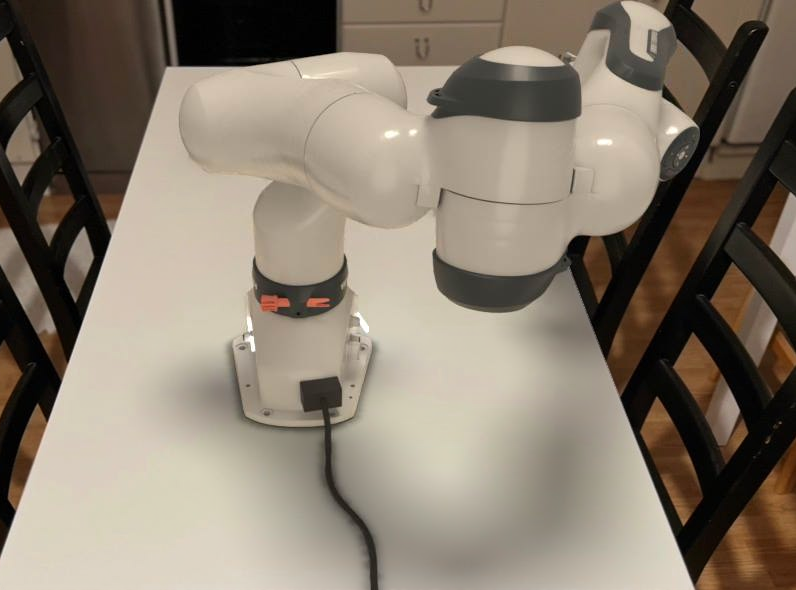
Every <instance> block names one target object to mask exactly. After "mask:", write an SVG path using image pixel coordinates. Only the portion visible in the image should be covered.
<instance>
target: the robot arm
mask: <svg viewBox="0 0 796 590" xmlns="http://www.w3.org/2000/svg"><path fill="white" fill-rule="evenodd" d="M678 48H679V45H678V37H677V33H676V31H675V26H674V25H673V23H672V22H671V21H670V20H669V19H668V18H667V17H666V15H664V14H663V13H662V12H661V11H659V10H658V9H656V8H655V7H653V6H651V5H648V4H646V3H643V2H640V1H634V0H617V1H614V2H612V3H610V4H607V5H605V6H603V7H602V8H600V9H598V10H597V11H595V14H594V16H593V19H592V21H591V23H590V26H589V28H588V31H587V35H586V37H585V39H584V41H583V43H582V45H581V47H580V49H579V51H578V53H577V55H575V54H572V52H569V51H567V52H563V53H560V54H558V56H555V55H554V54H552V53H551V52H547V51H546V50H543V49H540V48H536V47H532V46H526V45H511V46H509V45H508V46H504V47H499V48H496V49H494V50H490V51H488V52H485V53H479V54H475V55H473V56H472V57H471V58H469V59H468V60H466V61H464V62H463V64H461V65H460V66H458V68H455V70H453V72H452V73H451V74H450V75H449V77H448V78H447V79H446V81H445V82H444V84H443V85H442V87H437V88H434V89H432V90H430V91H429V93H428V95H427V97H426V103H428V105H431V106H434V107H435V109H434V110H433V111H432V112H431V113H430V114H418V113H414V112H411V111H409V110H408V91H407V87H406V84H405V81H404V78H403V75H401V72H400V70H399V69H398V68H397V67H396V65H395V64H394V63H393V62H392V61H391V60H390V59H389V58H388V57H387V56H385V55H384V54H379V53H378V54H377V53H369V52H368V53H367V52H353V51H341V52H333V53H328V54H321V55H314V56H308V57H301V58H300V57H299V58H294V59H288V60H284V61H283V60H282V61H276V62H270V63H263V64H262V63H261V64H256V65H250V66H249V65H248V66H243V67H235V68H231V69H227V70H226V71H222V72H219V73H216V74H214V75H210V76H208V77H206V78H203V79H200V80H198V81H195V82H193V83H191V84H189V87H188V88H187V90H186V91H185V94H184V96H183V98H182V100H181V103H180V106H179V113H178V130H179V134H180V139H181V142H182V144H183V146H184V149H185V151H186V152H187V154H188V156H189V157H190V158H191V159H192V160H193V162H195V164H196V165H197V166H198V167H199V168H201V170H203V171H205V172H206V173H208V174H214V175H235V176H246V177H253V178H259V179H263V180H269V181H271V182H270V183H269V184H267V185H266V186H265V188H263V189H262V190H261V192H260V193H259V195H258V197H257V199H256V200H255V202H254V206H253V210H252V229H253V242H254V243H253V245H254V256H253V257H252V258H253V259H252V267H251V279H252V285H253V286H252V287H251V289H249V290H248V291H247V292H246V293H245V294H244V308H245V322H246V331H245V332H243V334H241V335H238V336H237V337H235V338H234V339H233V340H232V353H233V360H234V365H235V370H236V371H235V372H236V375H237V376H236V377H237V382H238V388H239V394H240V398H241V405H242V410H243V414H244V416H245V417H246V418H248V419H250V420H252V421H255V422H257V423H260V424H265V425H268V426H269V425H270V426H276V427H285V428H286V427H291V428H309V427H311V428H313V427H322V426H324V452H325V464H324V473H325V479H326V483H327V486H328V489H329V491H330V493H331V495H332V497H333V499H334V500H335V502H336V503H337V505H338V506H339V507H340V508H341V509H342V510H343V511H344V513H346V514H347V515H348V516H349V517H350V518H351V519H352V521H353V522H355V524H356V525H357V526H358V528H359V529H360V531H361V532H362V534H363V537H364V539H365V542H366V545H367V550H368V555H369V575H370V576H369V578H370V579H369V580H370V590H379V579H378V578H379V577H378V556H377V549H376V546H375V541H374V539H373V537H372V534H371V531H370V530H369V528H368V526H367V524H366V523H365V522H364V520H363V519H362V517H361V516H360V515H359V514H358V513H357V512H356V511H355V510H354V509H353V508H352V507H351V506H350V505H349V504H348V503H347V502H346V501H345V499H344V498H343V497H342V496H341V494H340V492H339V491H338V489H337V487H336V484H335V481H334V477H333V471H332V452H333V451H332V447H333V446H332V425H334V424H335V425H336V424H338V423H341V422H344V421H347V420H349V419H351V418H353V417H354V416H355V415H356V412H357V408H358V404H359V400H360V396H361V392H362V389H363V387H364V385H363V384H364V381H365V378H366V374H367V371H368V366H369V362H370V359H371V355H372V352H373V342H372V340H371V338H369V337H368V336H366V335H364V334H361V333H359V328H360V325H361V327H362V328H363V330H364V331H365V333H368V332H369V326H368V324H367V323H366V321H365V320H364V319H363V317H362V316H361V314H360V313H359V295H358V294H357V293H356V292H355V291H354V290H353V289H351V287H350V286H349V285H348V280H349V279H348V278H349V268H348V267H349V266H348V259H347V255H346V254H345V238H346V237H345V234H346V223H347V219H350V220H352V221H354V222H356V223H358V224H361V225H364V226H368V227H371V228H375V229H379V230H399V229H403V228H406V227H407V228H408V227H409V226H411V225H414V224H415V223H418V222H419V221H420V220H422V219H423V218H424V217H426V215H427V214H428V213H429V212H430V211H431V210H432V209H434V210H435V247H434V248H433V250H432V253H431V254H432V266H433V267H432V268H433V276H434V280H435V284H436V288H437V290H438V292H439V293H441V294H442V295H443V296H444V297H445V298H446V299H448V300H449V301H450V302H451V303H453V304H455V305H456V306H459V307H461V308H465V309H468V310H470V311H475V312H481V313H488V314H489V313H491V314H506V313H514V312H518V311H521V310H523V309H525V308H526V307H528V306H529V305H531V304H532V303H533V302H535V301H536V300H537V299H539V298H540V297H541V296H543V295H544V294H545V292H546V291H547V289H548V288H549V287H550V286H551V284H552V282H553V281H554V279H555V277H556V276H557V275H558V274H562V273H563V272H565V271H568V269H569V268H570V266H571V265H572V260H571V259H570V258H569V257H568V256H567V253H568V250H569V249H568V246H569V244H570V242H571V241H572V240H573V239H574V238H576V237H578V236H591V237H604V236H611V235H613V234H617V233H619V232H622V231H624V230H626V229H627V228H630V227H631V226H633V224H635V223H636V222H638V220H640V218H641V217H642V216H644V213H645V212H646V211H647V210H648V208H649V207H650V205H651V203H652V202H653V199H654V197H655V195H656V193H657V189H658V186H659V183H660V182H666V181H669V180H671V179H673V178H675V177H677V175H678V174H679V173H680V172H682V170H684V169H685V168H686V166H687V164H688V163H689V162H690V160H691V158H692V156H693V155H694V153H695V151H696V149H697V147H698V145H699V140H700V135H701V134H700V133H701V132H700V127H699V126H698V125H697V124H696V122H695V121H694V120H693V119H692V118H691V117H690V116H688V115H687V114H686V113H685V112H683V111H682V110H681V109H680V108H679V107H678V106H676V105H675V104H673V103H672V102H670V101H668V100H667V99H665V98H664V97H663V89H664V84H665V79H666V74H667V73H666V72H667V68H668V67H667V66H668V65H669V62H670V61H671V59H672V57H673V56H674V54H675V52H676V51H677V49H678Z"/></svg>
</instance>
